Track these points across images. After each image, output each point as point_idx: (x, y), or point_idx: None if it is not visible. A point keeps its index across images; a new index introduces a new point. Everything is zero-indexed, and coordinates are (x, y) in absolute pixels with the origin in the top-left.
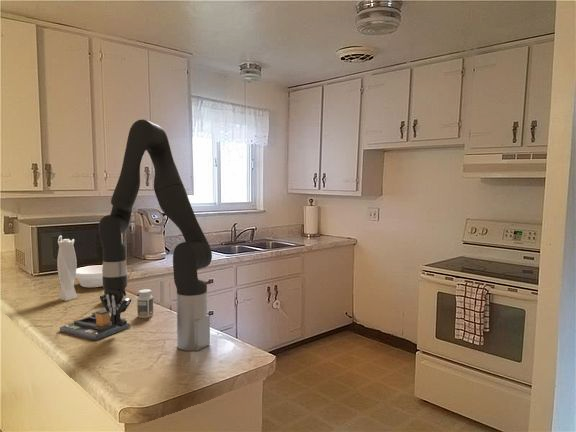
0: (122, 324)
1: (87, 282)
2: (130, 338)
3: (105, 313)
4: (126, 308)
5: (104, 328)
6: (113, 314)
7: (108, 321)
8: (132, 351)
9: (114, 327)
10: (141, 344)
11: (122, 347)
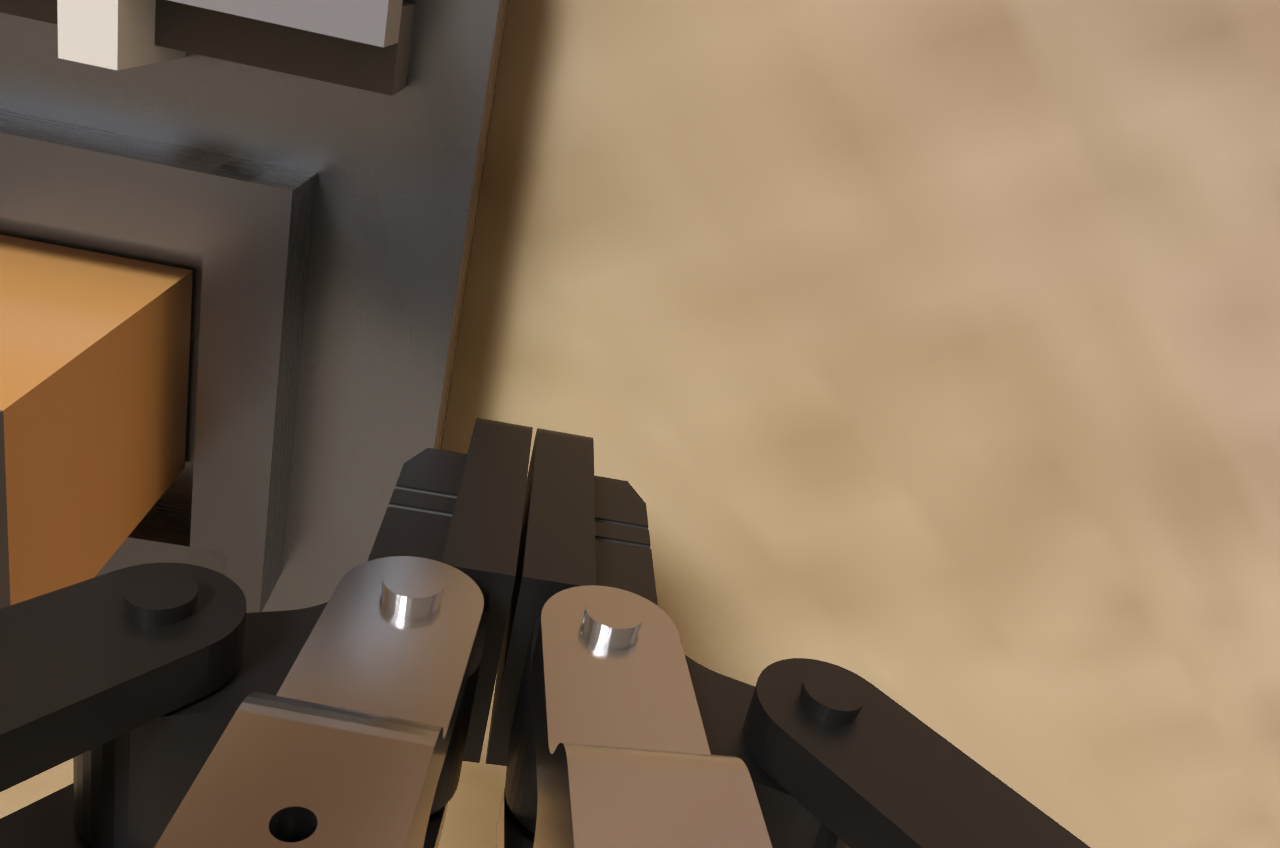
0: (407, 65)
1: None
2: (933, 464)
3: (9, 588)
4: (1011, 805)
5: (276, 523)
6: (491, 753)
7: (134, 352)
8: (1220, 837)
9: (353, 286)
10: (1255, 619)
11: (1003, 780)
